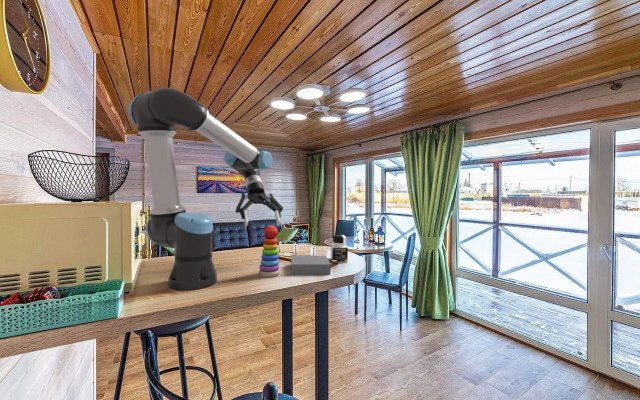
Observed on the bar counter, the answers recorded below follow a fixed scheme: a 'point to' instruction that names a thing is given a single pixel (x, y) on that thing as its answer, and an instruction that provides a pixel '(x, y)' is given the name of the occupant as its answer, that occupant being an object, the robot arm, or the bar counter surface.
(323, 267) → the charcoal plinth
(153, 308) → the bar counter surface
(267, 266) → the stacking toy
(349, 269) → the bar counter surface
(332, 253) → the medicine bottle
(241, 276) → the bar counter surface
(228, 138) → the robot arm
